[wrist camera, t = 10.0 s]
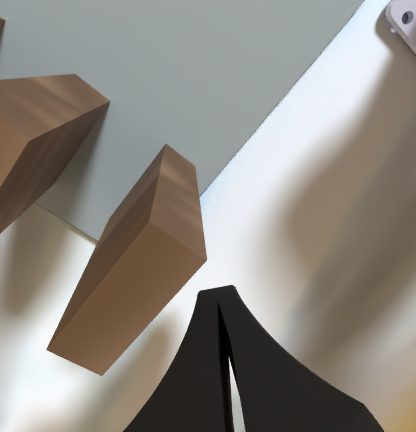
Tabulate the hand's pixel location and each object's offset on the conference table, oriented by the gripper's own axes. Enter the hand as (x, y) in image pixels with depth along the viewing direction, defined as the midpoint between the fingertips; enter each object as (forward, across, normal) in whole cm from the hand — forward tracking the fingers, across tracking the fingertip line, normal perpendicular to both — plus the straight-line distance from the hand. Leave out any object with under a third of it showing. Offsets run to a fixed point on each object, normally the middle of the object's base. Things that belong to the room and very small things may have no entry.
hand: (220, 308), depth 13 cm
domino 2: (+6, +2, -3) cm, 7 cm away
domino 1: (+6, +6, -7) cm, 11 cm away
